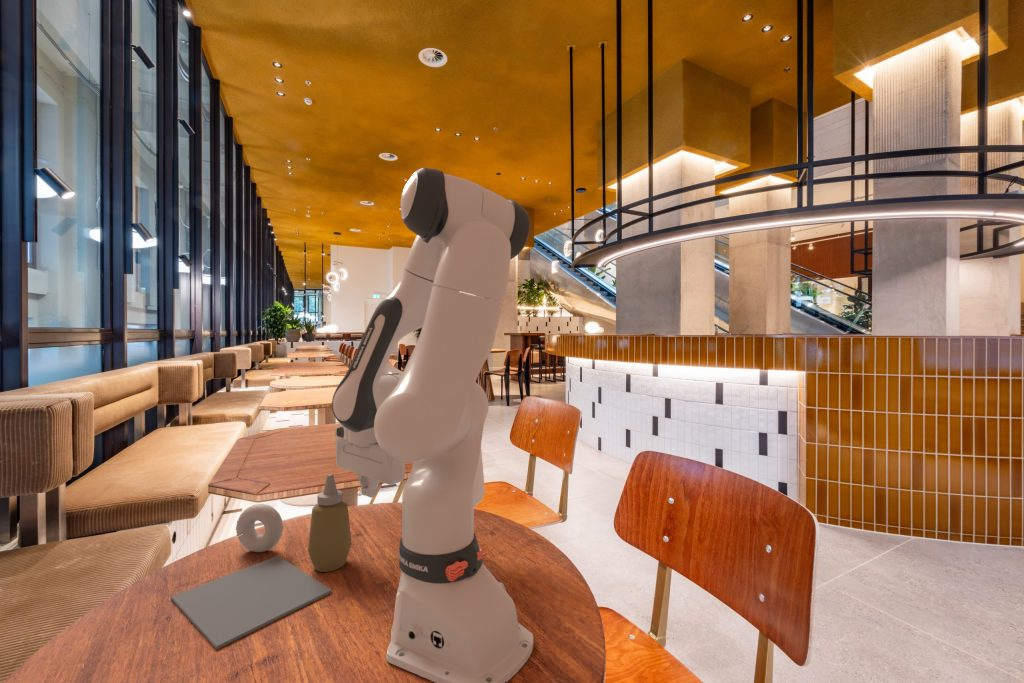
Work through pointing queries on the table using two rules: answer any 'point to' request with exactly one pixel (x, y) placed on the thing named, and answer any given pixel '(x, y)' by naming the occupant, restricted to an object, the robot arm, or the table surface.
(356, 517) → the table surface
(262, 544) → the donut
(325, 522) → the squeeze bottle
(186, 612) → the mat
